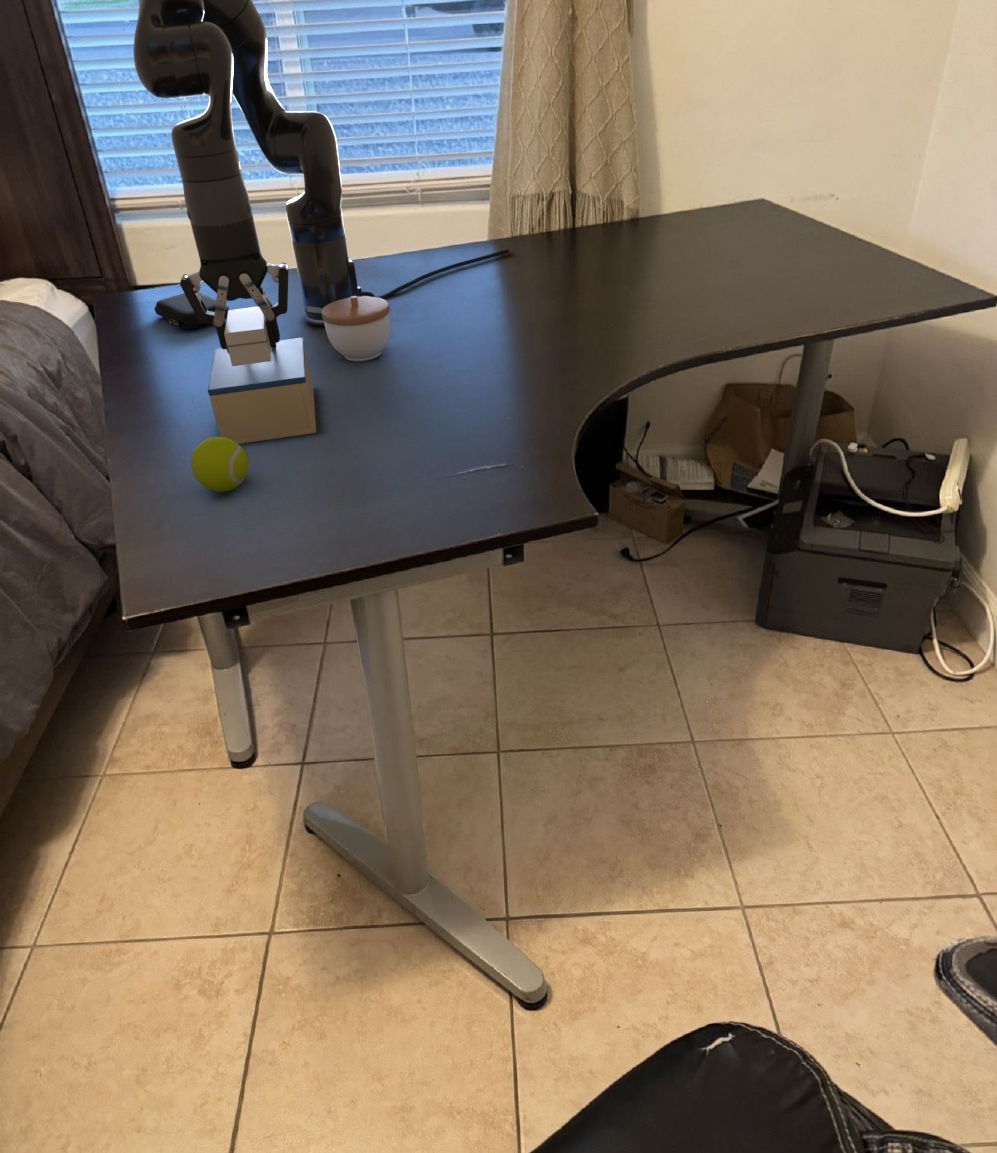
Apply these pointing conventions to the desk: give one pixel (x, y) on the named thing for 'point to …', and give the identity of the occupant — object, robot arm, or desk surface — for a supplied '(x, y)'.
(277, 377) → the blue lid
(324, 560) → the desk surface
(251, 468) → the desk surface
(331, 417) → the desk surface
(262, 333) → the beige case
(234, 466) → the tennis ball
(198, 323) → the carrying case
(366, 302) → the white bowl with lid
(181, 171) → the robot arm
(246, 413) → the storage box
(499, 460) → the desk surface
